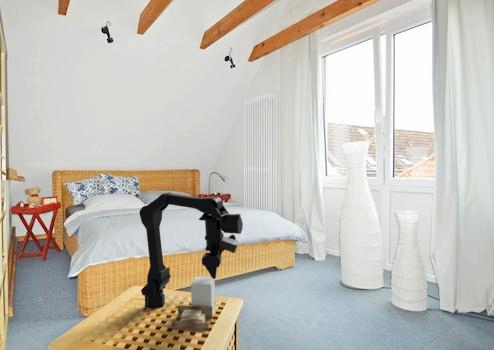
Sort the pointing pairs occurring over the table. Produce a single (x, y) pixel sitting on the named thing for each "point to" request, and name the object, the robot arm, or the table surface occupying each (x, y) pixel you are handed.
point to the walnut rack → (193, 325)
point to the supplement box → (203, 292)
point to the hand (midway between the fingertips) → (216, 272)
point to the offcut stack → (193, 316)
